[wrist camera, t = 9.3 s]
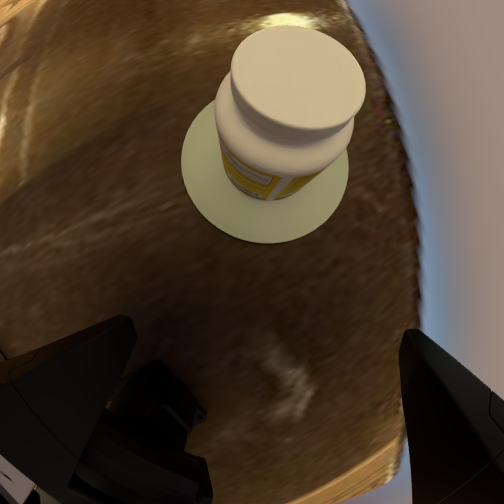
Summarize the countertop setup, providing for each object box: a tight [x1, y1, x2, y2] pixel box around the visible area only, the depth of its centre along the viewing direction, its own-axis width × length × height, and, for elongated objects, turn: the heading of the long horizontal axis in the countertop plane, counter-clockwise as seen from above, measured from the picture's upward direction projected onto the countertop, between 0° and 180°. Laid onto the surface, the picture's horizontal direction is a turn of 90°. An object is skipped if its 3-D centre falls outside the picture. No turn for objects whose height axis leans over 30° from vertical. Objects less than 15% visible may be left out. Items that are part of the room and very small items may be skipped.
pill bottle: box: [214, 25, 366, 201], centre depth 13 cm, size 6×6×11 cm
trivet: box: [181, 100, 348, 243], centre depth 19 cm, size 12×12×1 cm
